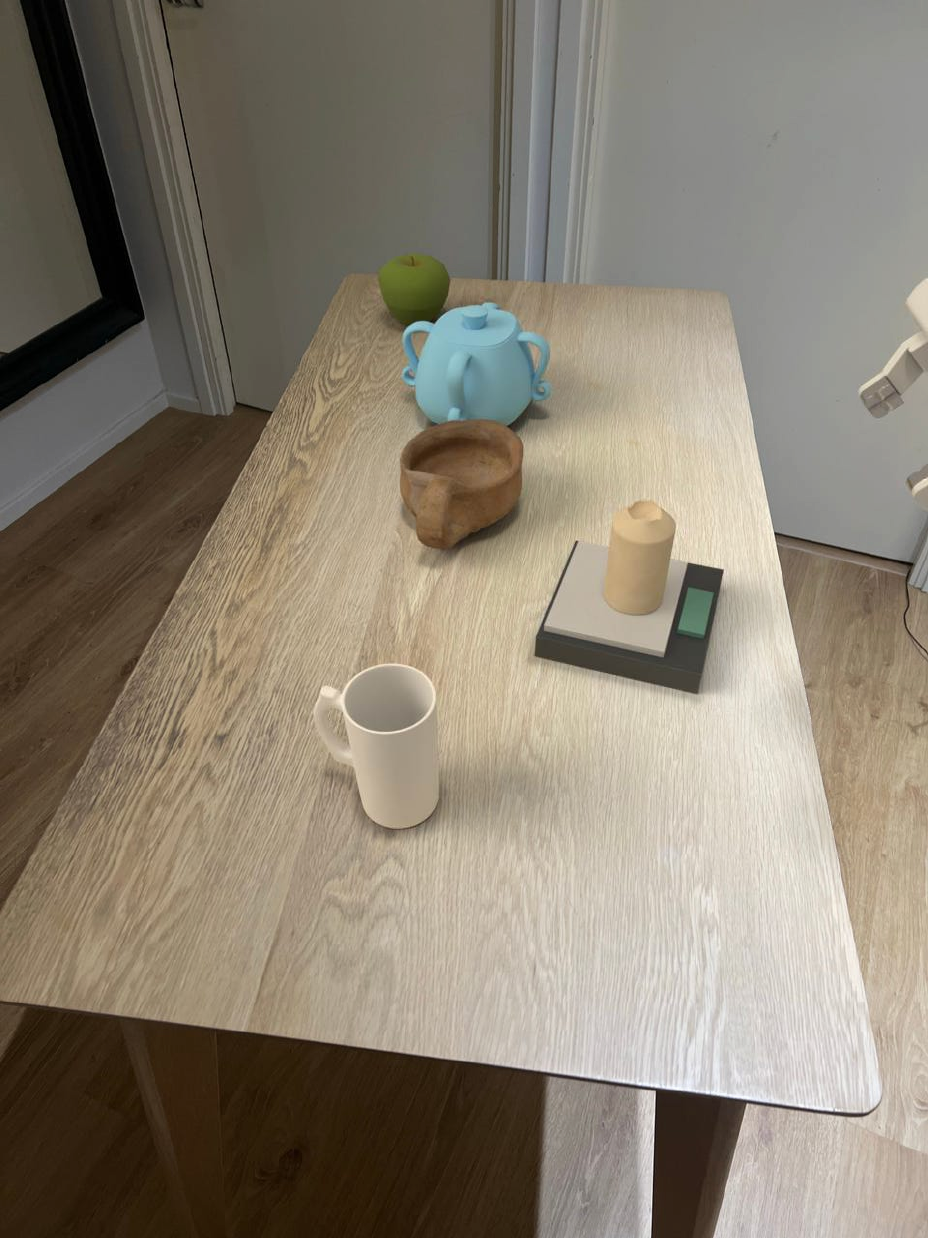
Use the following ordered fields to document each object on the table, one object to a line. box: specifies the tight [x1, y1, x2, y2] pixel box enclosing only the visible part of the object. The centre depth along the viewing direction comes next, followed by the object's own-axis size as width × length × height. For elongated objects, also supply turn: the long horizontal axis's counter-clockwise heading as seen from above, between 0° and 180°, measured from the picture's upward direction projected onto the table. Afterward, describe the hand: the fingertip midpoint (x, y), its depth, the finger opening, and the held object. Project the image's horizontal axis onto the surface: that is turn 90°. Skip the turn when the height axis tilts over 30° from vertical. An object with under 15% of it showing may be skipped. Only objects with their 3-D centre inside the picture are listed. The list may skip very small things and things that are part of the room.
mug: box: [313, 663, 440, 830], centre depth 68 cm, size 10×7×12 cm, turn 69°
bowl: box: [399, 419, 525, 550], centre depth 95 cm, size 18×14×10 cm
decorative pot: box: [401, 301, 553, 427], centre depth 110 cm, size 16×16×14 cm
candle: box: [604, 500, 677, 615], centre depth 80 cm, size 6×6×10 cm
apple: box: [377, 253, 451, 327], centre depth 131 cm, size 11×10×10 cm
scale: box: [534, 540, 725, 695], centre depth 85 cm, size 15×15×3 cm
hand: (888, 448), depth 50 cm, fingers open, 8 cm apart
